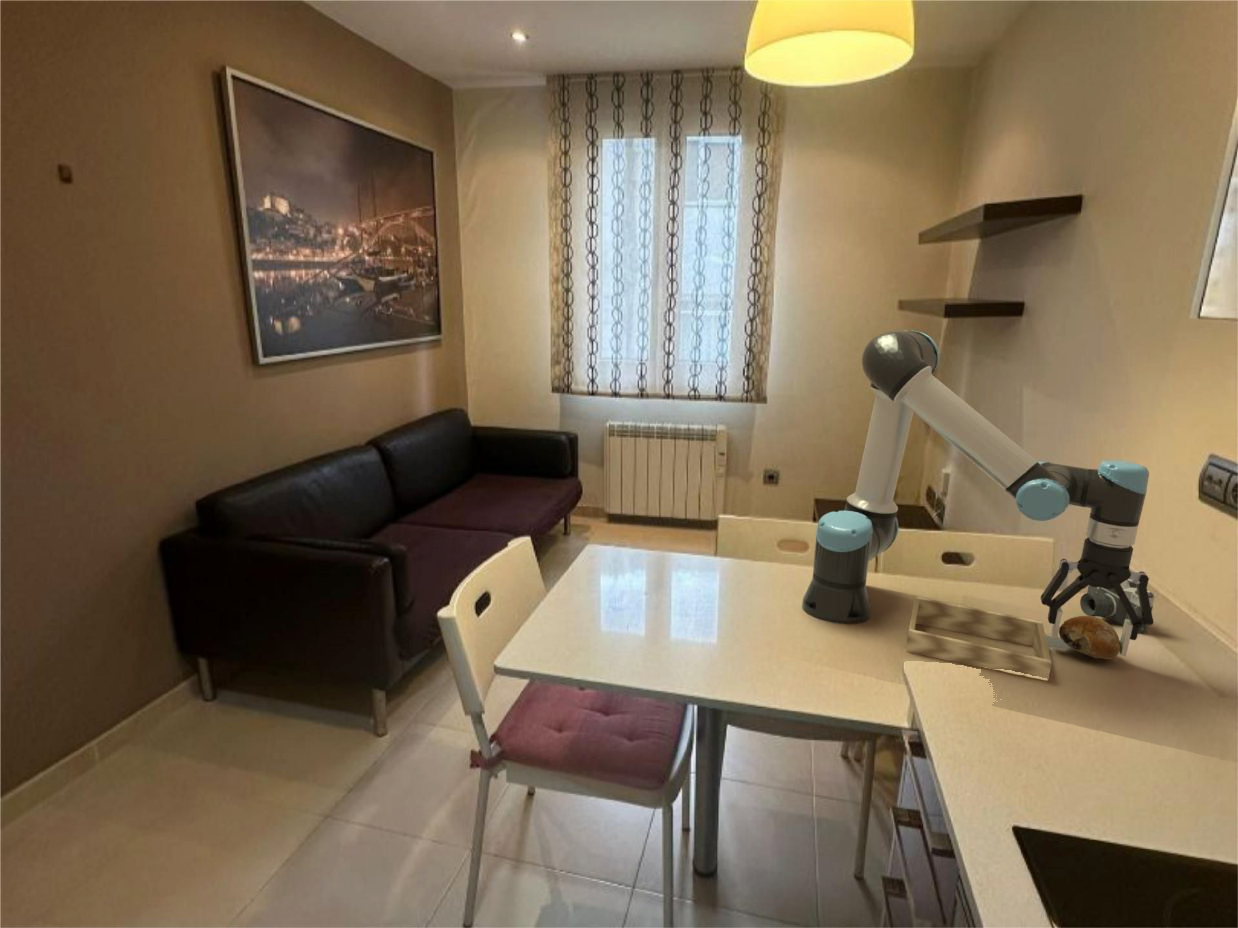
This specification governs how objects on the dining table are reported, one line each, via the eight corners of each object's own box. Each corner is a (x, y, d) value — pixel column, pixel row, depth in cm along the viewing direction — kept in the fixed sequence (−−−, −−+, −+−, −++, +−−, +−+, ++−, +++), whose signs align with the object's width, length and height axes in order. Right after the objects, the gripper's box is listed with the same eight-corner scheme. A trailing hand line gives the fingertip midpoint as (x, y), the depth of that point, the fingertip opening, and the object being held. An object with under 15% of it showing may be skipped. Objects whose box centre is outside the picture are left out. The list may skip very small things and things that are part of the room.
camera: (1059, 601, 155) (1066, 563, 153) (1100, 602, 155) (1108, 563, 153) (1107, 633, 140) (1116, 591, 137) (1153, 634, 140) (1163, 592, 138)
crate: (904, 657, 129) (908, 630, 127) (911, 620, 144) (915, 596, 143) (1046, 692, 118) (1051, 662, 116) (1037, 647, 133) (1042, 621, 132)
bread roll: (1108, 679, 125) (1142, 653, 122) (1065, 648, 125) (1099, 621, 122) (1084, 651, 134) (1116, 626, 131) (1045, 622, 134) (1076, 596, 131)
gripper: (1040, 536, 125) (1021, 639, 130) (1192, 559, 114) (1165, 670, 120) (1036, 525, 131) (1018, 623, 136) (1180, 546, 121) (1155, 651, 126)
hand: (1087, 645), depth 128 cm, fingers closed on bread roll, 11 cm apart
